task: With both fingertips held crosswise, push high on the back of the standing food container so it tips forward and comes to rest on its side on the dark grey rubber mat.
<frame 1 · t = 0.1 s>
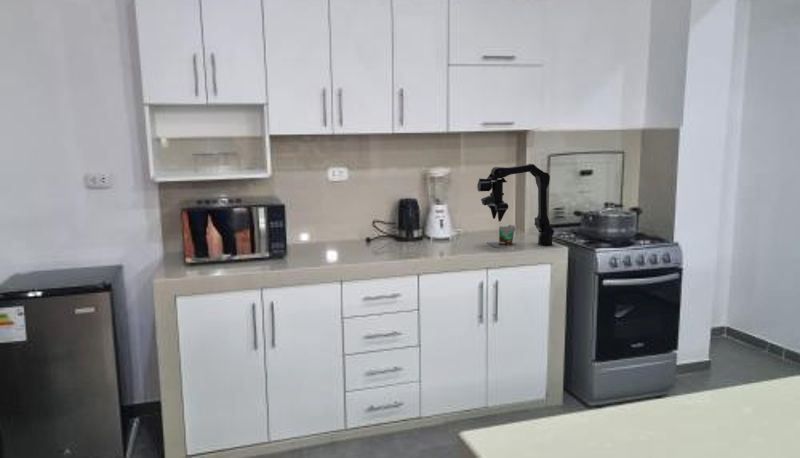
hand: (496, 220, 315), 15 cm above the counter, tool pointing down, fingers open, 9 cm apart
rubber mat: (496, 245, 321), on the counter
food container: (508, 244, 323), on the counter, touching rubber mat
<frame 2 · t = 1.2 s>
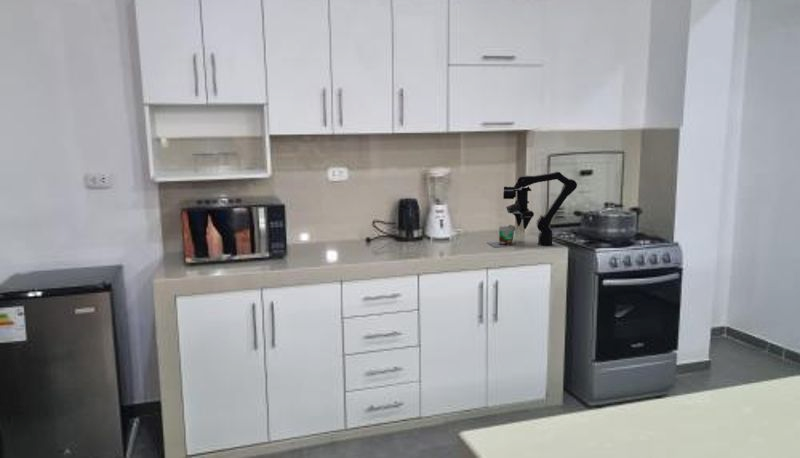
hand: (521, 227, 322), 9 cm above the counter, tool pointing down, fingers open, 9 cm apart
nothing on the counter moved.
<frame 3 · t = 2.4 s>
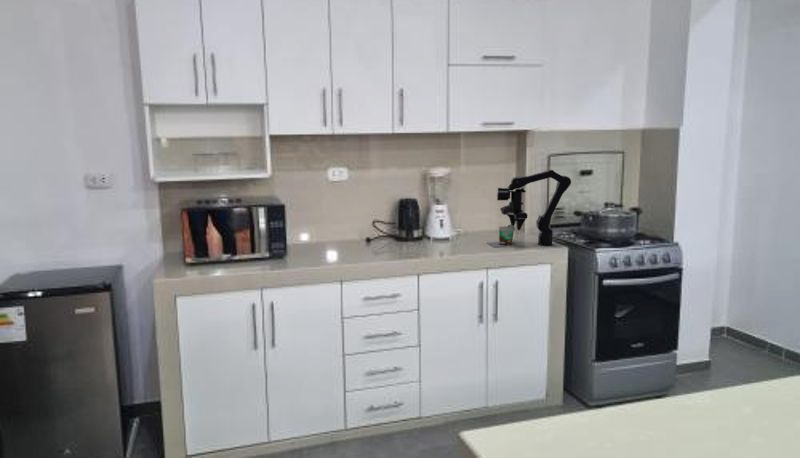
hand: (515, 228, 322), 9 cm above the counter, tool pointing down, fingers open, 9 cm apart
food container: (507, 244, 323), on the counter, touching gripper, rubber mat
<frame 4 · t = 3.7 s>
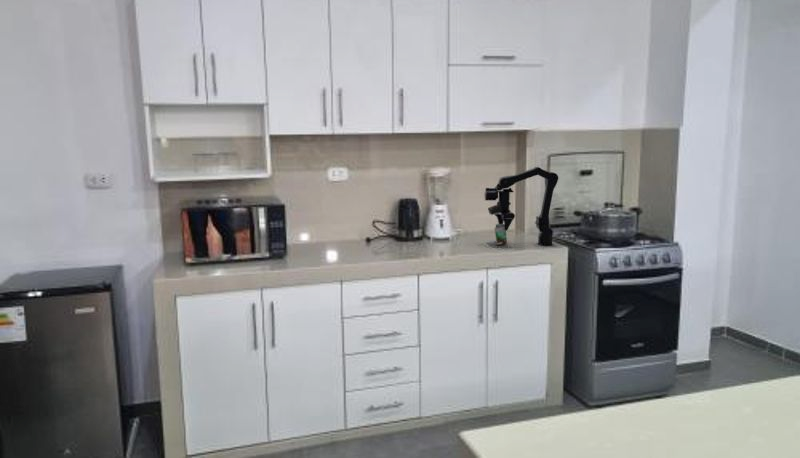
hand: (503, 228, 321), 9 cm above the counter, tool pointing down
food container: (503, 243, 321), point 1 cm above the counter, touching gripper, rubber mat
when the fingers open (9 cm above the counter, at t = 5.0 s): food container moves 5 cm, point 5 cm above the counter.
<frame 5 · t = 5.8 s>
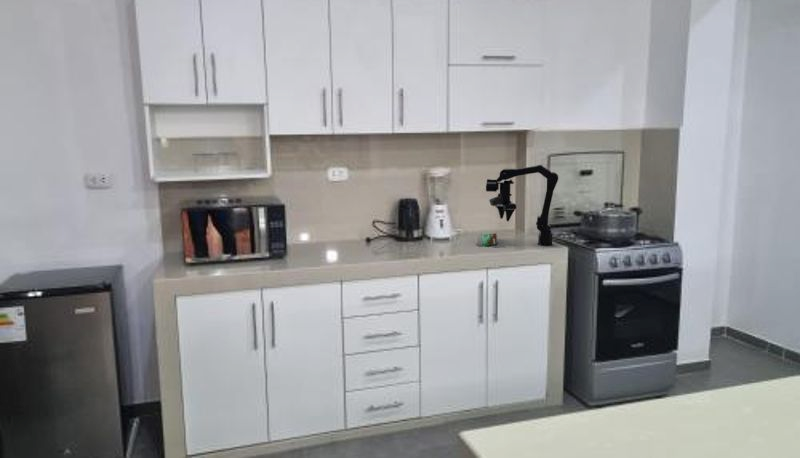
hand: (504, 219, 325), 13 cm above the counter, tool pointing down, fingers open, 9 cm apart
food container: (496, 236, 321), point 5 cm above the counter
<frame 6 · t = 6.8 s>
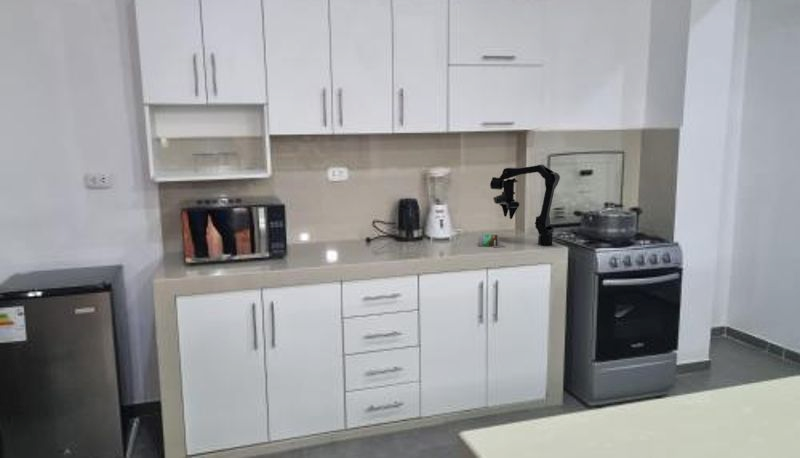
hand: (508, 217, 333), 13 cm above the counter, tool pointing down, fingers open, 9 cm apart
food container: (497, 238, 321), point 4 cm above the counter, touching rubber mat
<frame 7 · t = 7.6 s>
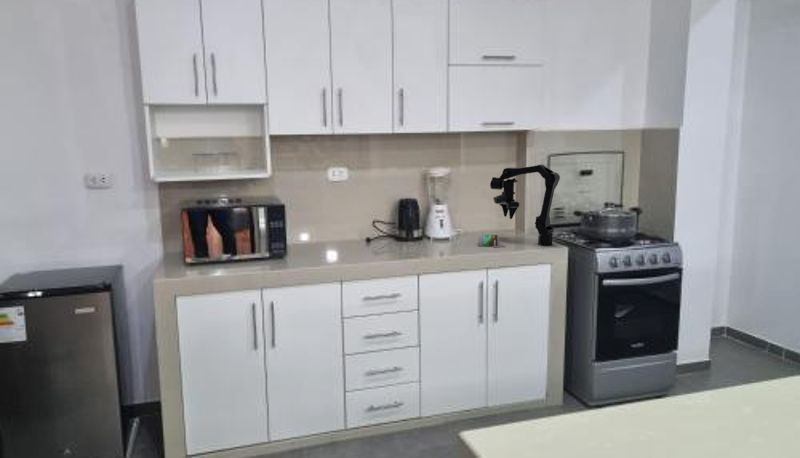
hand: (508, 217, 333), 13 cm above the counter, tool pointing down, fingers open, 9 cm apart
nothing on the counter moved.
at the end: food container tilted 93°; food container touching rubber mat, counter; food container inside the target area (0.7 cm from its centre), point 3.7 cm above the counter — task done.
